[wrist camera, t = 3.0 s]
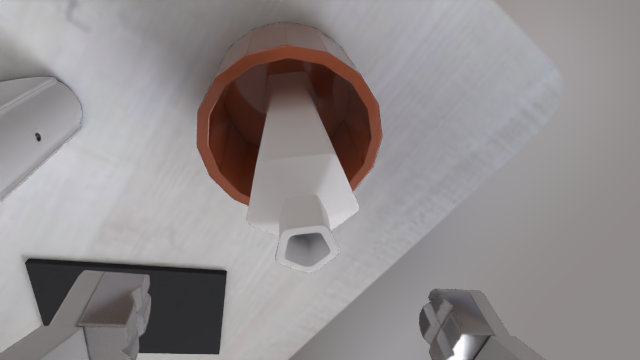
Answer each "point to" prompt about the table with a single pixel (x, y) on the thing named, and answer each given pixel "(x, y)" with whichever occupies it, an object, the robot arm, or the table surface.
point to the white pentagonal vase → (298, 177)
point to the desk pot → (249, 116)
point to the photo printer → (33, 126)
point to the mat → (166, 302)
